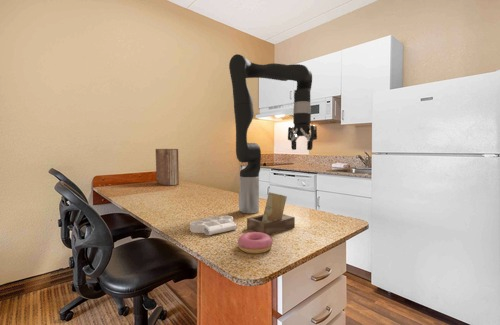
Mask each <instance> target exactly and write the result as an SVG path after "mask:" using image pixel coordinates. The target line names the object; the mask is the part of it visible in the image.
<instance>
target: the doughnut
mask: <svg viewBox="0 0 500 325" xmlns="http://www.w3.org/2000/svg"><path fill="white" fill-rule="evenodd" d="M237 246H238V248H239V249H240V250H241V251H243V252H245V253H248V254H253V255H254V254H255V255H257V254H263V253H267V252H268V251H269V250H270V249H271V248H272V246H273V239H272V237H271V235H268V234H265V233H261V232H255V231H248V232H245V233H241V235H240V236H239V238H238V240H237Z"/></svg>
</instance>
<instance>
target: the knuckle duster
mask: <svg viewBox="0 0 500 325" xmlns="http://www.w3.org/2000/svg"><path fill="white" fill-rule="evenodd" d="M237 229H238V226H237V224H236V222H234V217H233V216H232V215H219V216H217V215H216V216H209V217H203V218H200V219H198V220H193V221H190V223H189V231H191V233H195V234H198V233H199V234H201V233H202V234H204V235H206V236H208V237H209V236H211V235H212V236H213V235H217V234H221V233H225V232H229V231H235V230H237Z"/></svg>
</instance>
